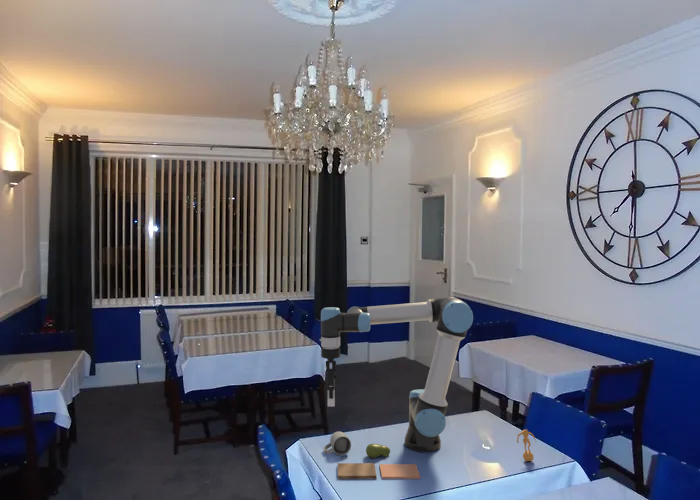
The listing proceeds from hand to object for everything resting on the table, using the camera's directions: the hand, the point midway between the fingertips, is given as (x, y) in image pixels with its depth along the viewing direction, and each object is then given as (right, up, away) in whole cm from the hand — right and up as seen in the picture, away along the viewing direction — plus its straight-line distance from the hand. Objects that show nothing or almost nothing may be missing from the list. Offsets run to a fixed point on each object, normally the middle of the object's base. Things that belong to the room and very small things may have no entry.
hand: (331, 400), depth 205 cm
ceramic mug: (+2, -23, +6) cm, 24 cm away
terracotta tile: (+26, -24, -11) cm, 37 cm away
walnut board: (+10, -24, -11) cm, 28 cm away
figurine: (+78, -24, +1) cm, 81 cm away
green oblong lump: (+19, -24, +3) cm, 30 cm away
